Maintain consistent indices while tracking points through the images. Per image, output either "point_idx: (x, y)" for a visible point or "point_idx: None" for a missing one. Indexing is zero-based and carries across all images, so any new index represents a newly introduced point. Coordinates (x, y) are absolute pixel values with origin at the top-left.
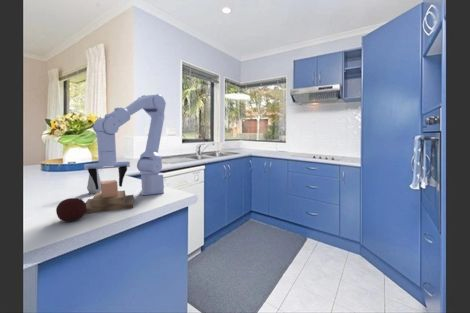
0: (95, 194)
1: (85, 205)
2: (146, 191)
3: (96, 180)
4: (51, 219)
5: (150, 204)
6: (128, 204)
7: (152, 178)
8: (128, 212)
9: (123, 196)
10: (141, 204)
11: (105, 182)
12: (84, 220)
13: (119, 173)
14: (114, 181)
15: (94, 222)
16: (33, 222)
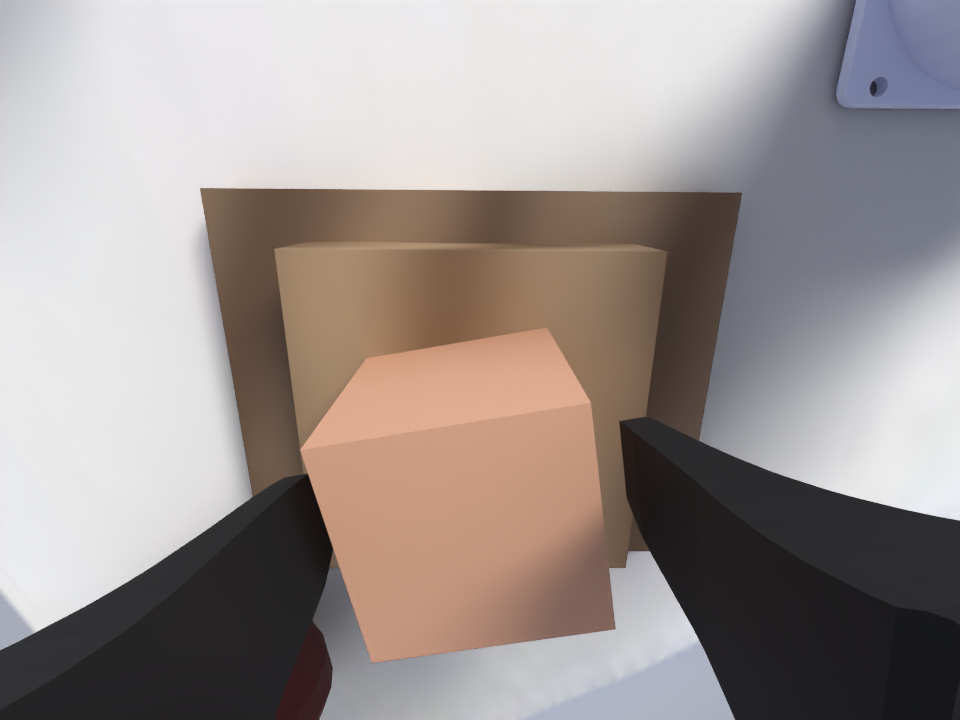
0: (288, 333)
1: (314, 714)
2: (953, 65)
3: (263, 713)
4: (106, 555)
5: (818, 483)
6: (640, 547)
7: None
8: (619, 601)
9: (625, 541)
10: (747, 454)
11: (415, 572)
12: (344, 642)
13: (757, 662)
14: (568, 541)
15: (414, 689)
16: (11, 570)
